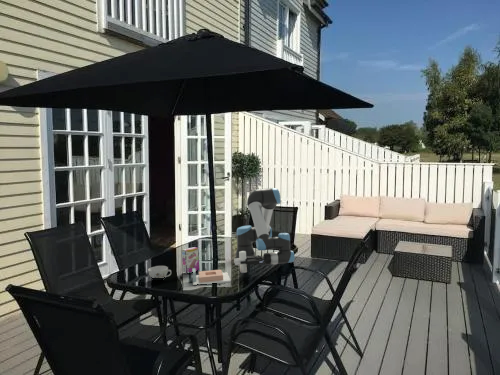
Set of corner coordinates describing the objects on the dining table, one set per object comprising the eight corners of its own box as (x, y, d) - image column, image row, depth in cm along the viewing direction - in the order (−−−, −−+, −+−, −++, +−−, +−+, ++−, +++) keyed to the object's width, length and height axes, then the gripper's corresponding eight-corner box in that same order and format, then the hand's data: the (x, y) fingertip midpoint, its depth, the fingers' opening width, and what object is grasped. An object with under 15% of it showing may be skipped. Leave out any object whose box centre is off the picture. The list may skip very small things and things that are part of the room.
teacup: (145, 283, 269) (144, 270, 269) (152, 277, 282) (151, 265, 281) (168, 282, 267) (167, 270, 267) (174, 277, 280) (173, 265, 279)
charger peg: (239, 271, 274) (238, 251, 273) (246, 270, 275) (245, 250, 274) (240, 273, 270) (239, 253, 269) (247, 272, 270) (246, 252, 269)
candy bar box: (186, 274, 285) (185, 250, 284) (182, 273, 288) (180, 249, 287) (200, 270, 292) (198, 247, 291) (195, 269, 296) (194, 246, 295)
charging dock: (192, 277, 278) (191, 266, 277) (227, 273, 281) (226, 263, 280) (193, 285, 258) (192, 274, 257) (230, 282, 261) (230, 270, 261)
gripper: (273, 267, 266) (236, 271, 263) (268, 261, 283) (233, 264, 280) (272, 255, 265) (235, 259, 262) (267, 249, 283) (232, 253, 279)
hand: (234, 261), depth 271 cm, fingers closed on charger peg, 4 cm apart
